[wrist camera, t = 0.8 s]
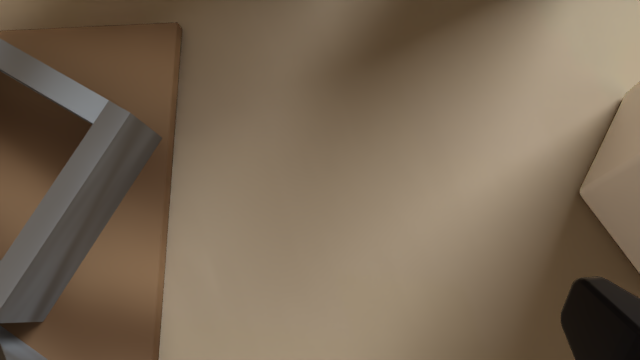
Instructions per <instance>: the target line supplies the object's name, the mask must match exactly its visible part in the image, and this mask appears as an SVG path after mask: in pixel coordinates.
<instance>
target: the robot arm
mask: <svg viewBox="0 0 640 360" xmlns="http://www.w3.org/2000/svg"><path fill="white" fill-rule="evenodd" d="M561 324H562V328H563V330H564V333H565V335H566V338H567V340H568V343H569V345H570V348H571V350H572V353H573V355H574V357H575V360H640V299H639V298H638V297H636V296H634V295H633V294H631V293H629V292H627V291H626V290H624V289H622V288H620V287H619V286H617V285H615V284H614V283H612V282H610V281H608V280H607V279H605V278H602V277H584V278H578V279H576V280H575V281H574V282H573V284H572V286H571V289H570V291H569V294H568V296H567V299H566V301H565V304H564V306H563V309H562V312H561ZM0 360H6V357H5V354H4V352H3V349H2V346H1V344H0Z"/></svg>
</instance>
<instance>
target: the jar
mask: <svg viewBox="0 0 640 360" xmlns="http://www.w3.org/2000/svg"><path fill="white" fill-rule="evenodd" d="M580 195H581V197H582V198H583V199H584V201H585V202H586V203H587V205H588V206H589V207H590V209H591V210H592V211H593V213H594V214H595V215H596V217H597V218H598V219H599V221H600V222H601V223H602V225H603V226H604V227H605V229H606V230H607V231H608V233H609V234H610V235H611V236H612V238H613V239H614V240H615V242H616V243H617V244H618V246H619V247H620V248H621V250H622V251H623V252H624V254H625V255H626V256H627V258H628V259H629V260H630V262H631V263H632V264H633V266H634V267H635V268H636V270H637V271H638V272H639V273H640V81H639V82H638V83H637V84H636V85H635V86H634V87H632V88H631V89H630V90H629V91H628V92H627V93H626V94H625V96H624V98H623V100H622V102H621V104H620V106H619V109H618V111H617V113H616V115H615V117H614V119H613V121H612V123H611V125H610V127H609V130H608V132H607V134H606V136H605V138H604V140H603V142H602V144H601V146H600V148H599V151H598V153H597V155H596V157H595V159H594V161H593V163H592V165H591V167H590V169H589V171H588V173H587V176H586V178H585V180H584V182H583V184H582V186H581V188H580Z"/></svg>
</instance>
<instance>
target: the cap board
mask: <svg viewBox="0 0 640 360" xmlns="http://www.w3.org/2000/svg"><path fill="white" fill-rule="evenodd" d="M181 37H182V28H181V27H180V26H179V24H178V23H177V22H176V23H155V24H134V25H113V26H92V27H71V28H50V29H29V30H8V31H0V344H1V346H2V349H3V352H4V354H5V357H6V360H158V357H159V343H160V329H161V316H162V302H163V288H164V274H165V260H166V246H167V232H168V218H169V204H170V190H171V176H172V162H173V148H174V134H175V120H176V106H177V93H178V79H179V65H180V51H181Z"/></svg>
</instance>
